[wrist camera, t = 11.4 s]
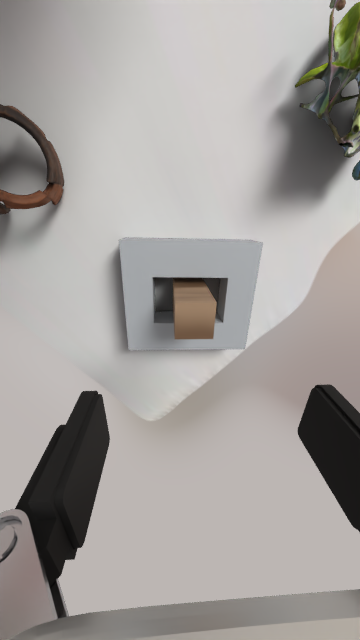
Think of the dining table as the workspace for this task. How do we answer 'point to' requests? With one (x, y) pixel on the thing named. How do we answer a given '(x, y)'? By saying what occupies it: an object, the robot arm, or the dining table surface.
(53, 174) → the dark brown looped piece
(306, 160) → the dining table surface
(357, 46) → the passion flower
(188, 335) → the wood grain block
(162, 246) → the well block
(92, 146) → the dining table surface
